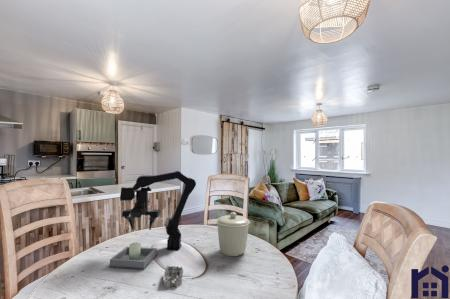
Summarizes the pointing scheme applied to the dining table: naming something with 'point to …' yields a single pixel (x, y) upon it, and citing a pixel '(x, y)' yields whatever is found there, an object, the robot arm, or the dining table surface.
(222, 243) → the canister
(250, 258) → the dining table surface
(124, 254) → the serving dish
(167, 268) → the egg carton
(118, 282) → the dining table surface
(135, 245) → the pale green cylinder
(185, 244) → the dining table surface
